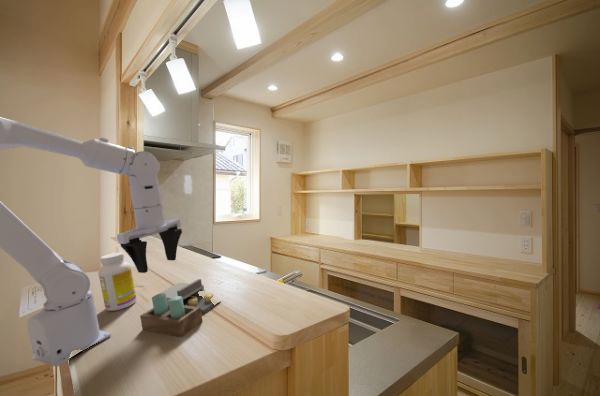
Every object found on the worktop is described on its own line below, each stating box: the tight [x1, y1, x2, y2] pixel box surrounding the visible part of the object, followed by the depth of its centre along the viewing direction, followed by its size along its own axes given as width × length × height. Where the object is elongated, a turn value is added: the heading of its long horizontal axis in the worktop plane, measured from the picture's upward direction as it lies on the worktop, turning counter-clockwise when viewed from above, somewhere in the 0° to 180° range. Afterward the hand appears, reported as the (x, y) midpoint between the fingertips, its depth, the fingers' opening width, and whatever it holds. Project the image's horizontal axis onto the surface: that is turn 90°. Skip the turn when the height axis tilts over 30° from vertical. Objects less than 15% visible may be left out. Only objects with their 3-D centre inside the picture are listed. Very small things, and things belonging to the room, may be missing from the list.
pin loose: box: [168, 296, 185, 319], centre depth 57 cm, size 3×3×6 cm
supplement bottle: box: [98, 251, 137, 312], centre depth 70 cm, size 7×7×13 cm
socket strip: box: [139, 303, 203, 338], centre depth 58 cm, size 6×11×3 cm, turn 66°
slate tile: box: [185, 293, 215, 315], centre depth 65 cm, size 6×6×2 cm
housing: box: [156, 278, 205, 303], centre depth 68 cm, size 7×8×5 cm
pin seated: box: [151, 293, 169, 316], centre depth 59 cm, size 3×3×6 cm
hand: (158, 265), depth 65 cm, fingers open, 7 cm apart
